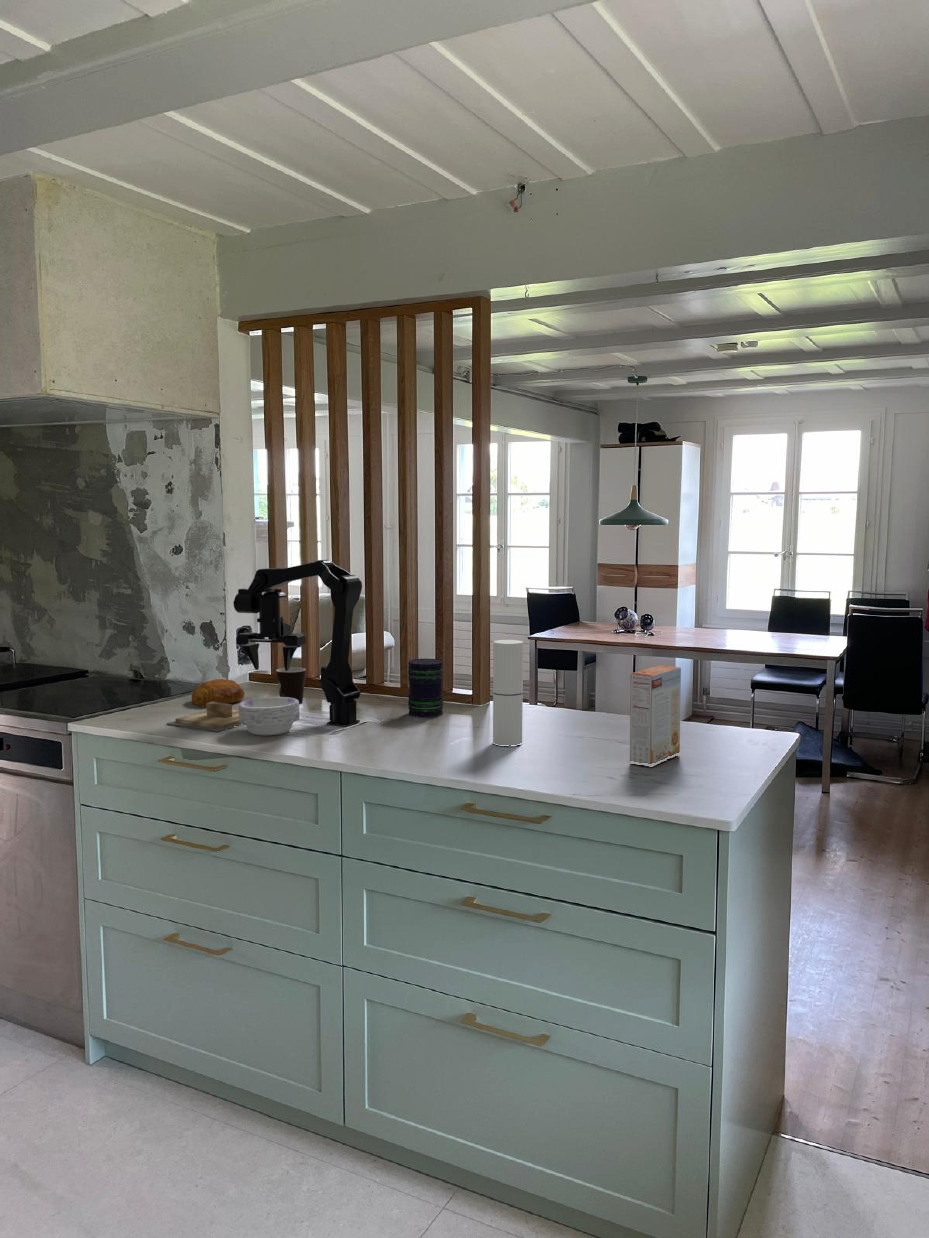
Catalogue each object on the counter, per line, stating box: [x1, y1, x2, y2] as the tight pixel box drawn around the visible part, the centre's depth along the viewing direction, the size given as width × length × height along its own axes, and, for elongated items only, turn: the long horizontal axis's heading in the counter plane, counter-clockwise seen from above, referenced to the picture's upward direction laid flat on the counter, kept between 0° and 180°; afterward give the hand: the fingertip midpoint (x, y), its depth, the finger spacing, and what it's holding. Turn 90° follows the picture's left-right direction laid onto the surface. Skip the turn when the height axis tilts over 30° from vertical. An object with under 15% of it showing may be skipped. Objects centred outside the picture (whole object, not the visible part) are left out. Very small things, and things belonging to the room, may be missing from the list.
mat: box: [165, 720, 241, 733], centre depth 250 cm, size 18×20×1 cm
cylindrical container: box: [492, 639, 524, 746], centre depth 225 cm, size 7×7×25 cm
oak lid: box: [175, 702, 240, 729], centre depth 250 cm, size 16×16×4 cm
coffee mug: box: [275, 667, 307, 706], centre depth 275 cm, size 12×9×10 cm
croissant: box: [191, 678, 245, 708], centre depth 276 cm, size 14×16×8 cm
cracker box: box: [629, 664, 682, 764], centre depth 210 cm, size 14×6×21 cm, turn 141°
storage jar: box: [407, 658, 444, 719], centre depth 259 cm, size 10×10×15 cm
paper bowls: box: [238, 696, 301, 736], centre depth 237 cm, size 15×15×8 cm
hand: (271, 670), depth 257 cm, fingers open, 9 cm apart
